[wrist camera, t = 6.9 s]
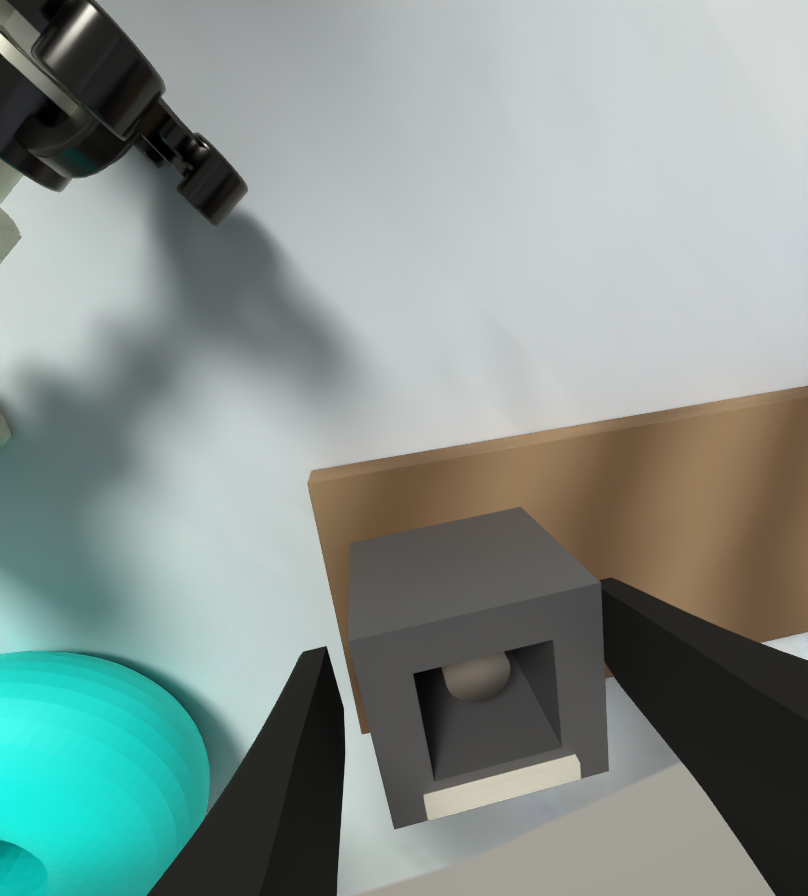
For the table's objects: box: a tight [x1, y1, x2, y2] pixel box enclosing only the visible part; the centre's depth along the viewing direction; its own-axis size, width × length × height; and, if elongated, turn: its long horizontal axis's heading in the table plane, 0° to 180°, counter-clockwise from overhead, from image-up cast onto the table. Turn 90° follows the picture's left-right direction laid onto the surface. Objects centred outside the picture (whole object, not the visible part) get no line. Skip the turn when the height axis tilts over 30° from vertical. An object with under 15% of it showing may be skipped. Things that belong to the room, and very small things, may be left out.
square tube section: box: [348, 507, 609, 829], centre depth 10 cm, size 5×5×4 cm
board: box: [307, 386, 808, 734], centre depth 12 cm, size 18×9×4 cm, turn 98°
